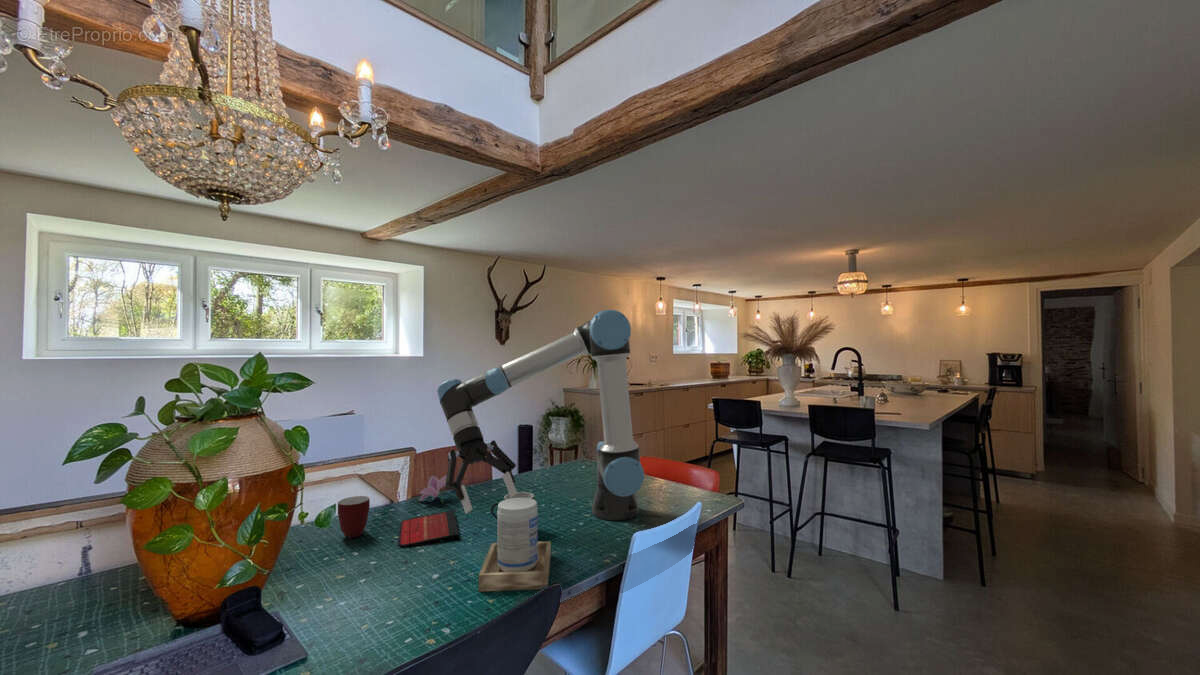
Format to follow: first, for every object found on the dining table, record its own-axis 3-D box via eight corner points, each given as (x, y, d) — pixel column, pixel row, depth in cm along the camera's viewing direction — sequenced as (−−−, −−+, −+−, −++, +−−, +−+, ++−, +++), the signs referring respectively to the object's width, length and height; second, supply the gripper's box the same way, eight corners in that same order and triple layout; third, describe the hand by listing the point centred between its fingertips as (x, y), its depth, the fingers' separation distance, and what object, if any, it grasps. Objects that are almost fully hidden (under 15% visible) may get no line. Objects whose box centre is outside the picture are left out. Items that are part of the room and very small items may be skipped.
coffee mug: (537, 525, 139) (537, 492, 139) (529, 537, 130) (529, 501, 131) (499, 524, 140) (499, 491, 140) (489, 535, 131) (489, 500, 132)
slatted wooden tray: (550, 555, 119) (550, 541, 119) (547, 589, 102) (547, 572, 102) (492, 556, 118) (492, 543, 118) (478, 591, 101) (478, 575, 101)
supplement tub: (539, 572, 106) (539, 508, 107) (497, 577, 104) (497, 511, 105) (535, 554, 116) (535, 495, 116) (497, 558, 114) (497, 498, 114)
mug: (339, 530, 136) (339, 496, 137) (369, 525, 140) (369, 492, 140) (336, 543, 127) (336, 506, 127) (369, 538, 130) (369, 502, 131)
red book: (454, 509, 148) (459, 533, 129) (454, 516, 148) (460, 541, 129) (400, 518, 143) (397, 545, 123) (400, 525, 143) (397, 553, 123)
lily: (455, 498, 169) (444, 474, 171) (460, 493, 159) (449, 468, 161) (422, 514, 162) (412, 489, 164) (425, 511, 153) (414, 484, 155)
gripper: (498, 429, 140) (524, 495, 132) (417, 446, 122) (442, 524, 114) (509, 417, 136) (537, 484, 127) (427, 433, 118) (453, 513, 110)
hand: (492, 503), depth 121 cm, fingers open, 13 cm apart
